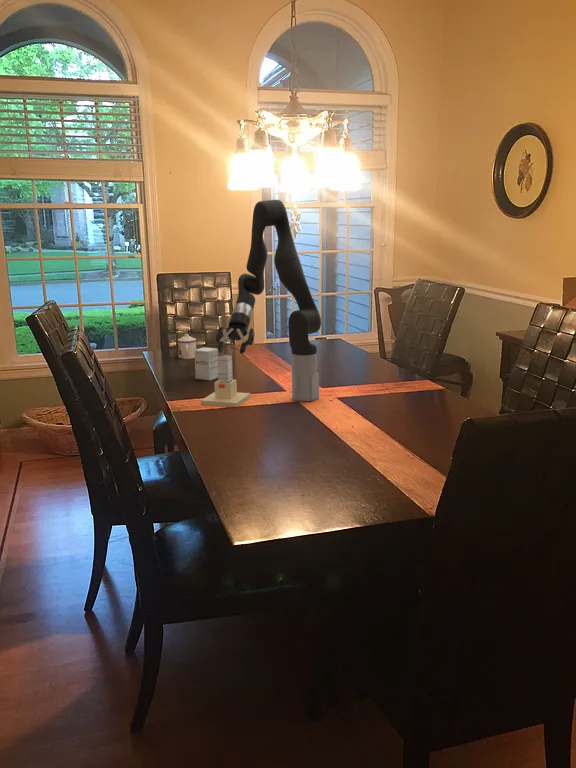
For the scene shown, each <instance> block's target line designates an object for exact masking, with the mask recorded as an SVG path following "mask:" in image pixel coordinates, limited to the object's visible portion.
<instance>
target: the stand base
mask: <svg viewBox="0 0 576 768" xmlns="http://www.w3.org/2000/svg"><path fill="white" fill-rule="evenodd" d="M213 384H214V392H212V393H211V394H209V395H208V396H206V397H204V398H203V399H200V405H206V406H219V407H231V408H238V407H239V406H240V405H242V404H243V403H244V402H246V401H247V400H249V399H250V398H251V396H252V393H250V392H238V386H237V379H233V381H231V382H230V383H222V382H218V380H216V381H215V382H214V383H213Z"/></svg>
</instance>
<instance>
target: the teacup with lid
mask: <svg viewBox="0 0 576 768" xmlns="http://www.w3.org/2000/svg"><path fill="white" fill-rule="evenodd" d="M177 347H178V349H177V350H178V359H180V358H182V359H181V360H192V359H195V350H197V339H196V338H195V337H192V336H191V335H189V333H184V336H182V337H180V338H178V339H177Z"/></svg>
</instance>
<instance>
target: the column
mask: <svg viewBox="0 0 576 768" xmlns="http://www.w3.org/2000/svg"><path fill="white" fill-rule="evenodd" d="M217 362H218V378H217V379H218V380H217V381H218V382H222V383H230V382H231V381H233V378H234V376H233V373H234V372H233V356H232V355H231V354H230V355H229V354H220V355H218V357H217Z"/></svg>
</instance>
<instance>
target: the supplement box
mask: <svg viewBox="0 0 576 768" xmlns="http://www.w3.org/2000/svg"><path fill="white" fill-rule="evenodd" d="M217 357H219V351H218V348H213V347H212V348H211V347H200V348H196V350H195V358H194V366H195V367H194V369H195V380H204V381H212V380H216V379H218V362H217Z"/></svg>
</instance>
